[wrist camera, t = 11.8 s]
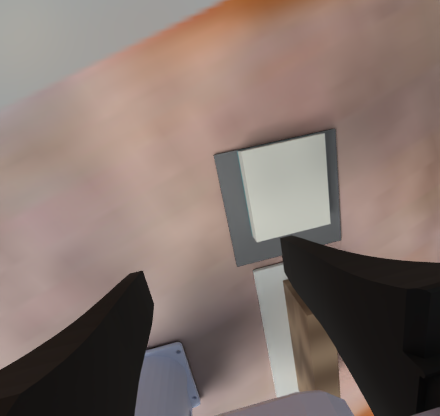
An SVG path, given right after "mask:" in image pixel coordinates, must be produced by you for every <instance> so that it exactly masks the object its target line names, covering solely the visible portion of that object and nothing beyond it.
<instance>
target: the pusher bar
mask: <svg viewBox="0 0 440 416" xmlns="http://www.w3.org/2000/svg"><path fill="white" fill-rule="evenodd" d="M283 286H284V293H285V300H286V307H287V314H288V321H289V328H290V335H291V342H292V349H293V356H294V363H295V370H296V377H297V383H298V389H299V392H303V391H314V390H321V391H324V392H327V393H329V394H332V395H334V396H336V397H339V398H340V384H339V369H338V354H337V349H336V347H335V346H334V344H333V343H332V341H331V339H330V338H329V336H328V334H327V333H326V331H325V330H324V328H323V327H322V325H321V324H320V323H319V321H318V320H317V319H316V317H315V316H314V315H313V313H312V312H311V311H310V309H309V308H308V307H307V305H306V304H305V303H304V302H303V300H302V299H301V298H300V296H299V295H298V294H297V292H296V291H295V289H294V288H293V287H292V285H291V283H290V281H289V280H288V279H287V280H283Z"/></svg>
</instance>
